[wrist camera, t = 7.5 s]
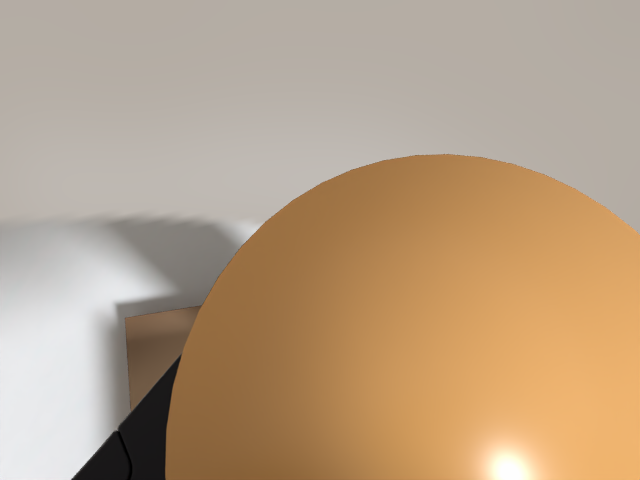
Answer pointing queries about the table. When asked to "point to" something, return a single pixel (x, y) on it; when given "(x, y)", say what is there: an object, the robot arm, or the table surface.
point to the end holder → (155, 346)
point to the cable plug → (419, 335)
